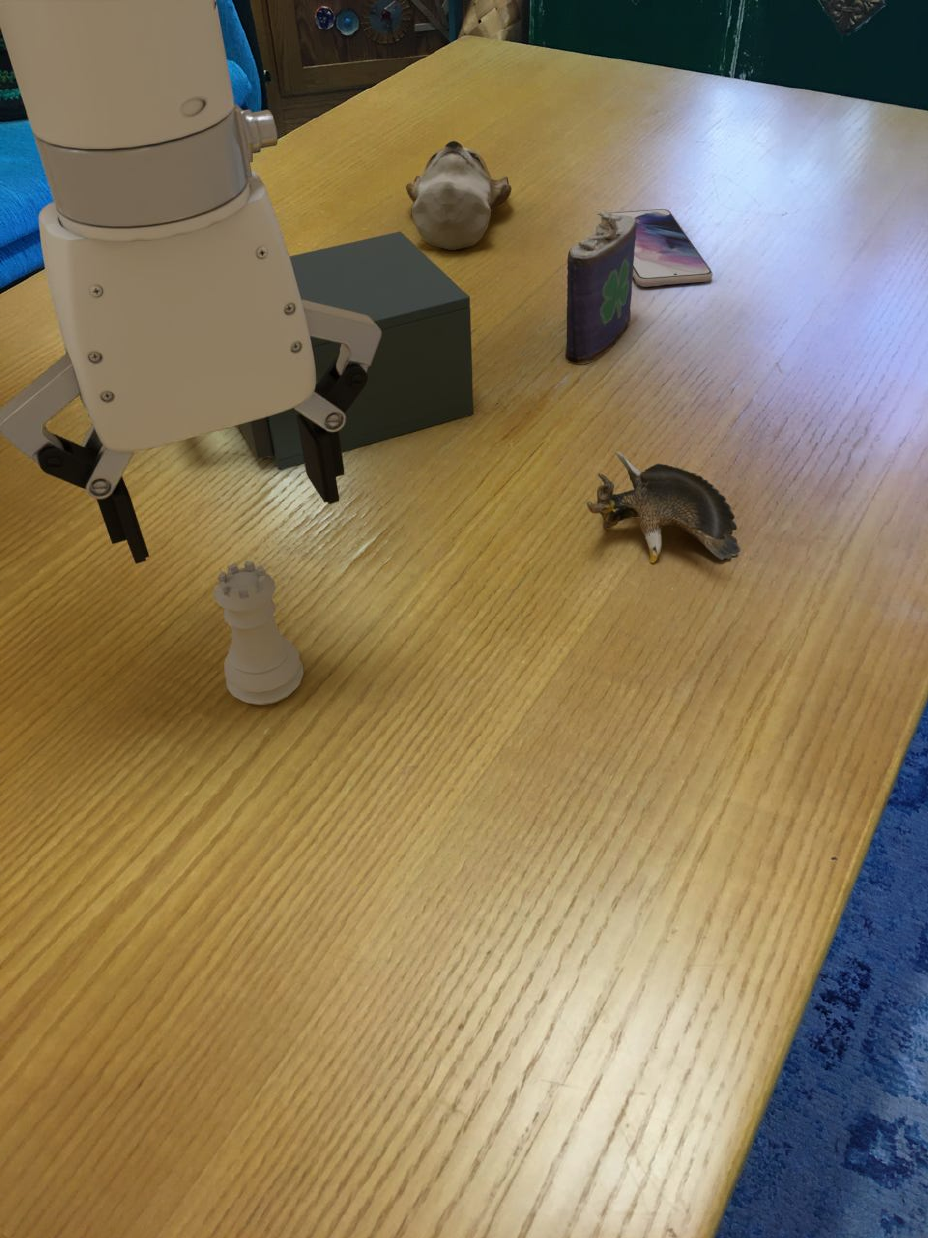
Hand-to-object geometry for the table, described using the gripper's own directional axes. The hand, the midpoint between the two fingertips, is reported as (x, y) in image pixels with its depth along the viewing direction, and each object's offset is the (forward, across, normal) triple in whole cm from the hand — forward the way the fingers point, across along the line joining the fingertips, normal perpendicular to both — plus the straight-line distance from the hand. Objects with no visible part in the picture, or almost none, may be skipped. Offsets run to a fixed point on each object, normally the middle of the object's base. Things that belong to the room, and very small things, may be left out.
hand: (232, 516), depth 53 cm
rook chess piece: (+12, 0, 0) cm, 12 cm away
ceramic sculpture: (+12, -36, -51) cm, 64 cm away
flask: (+12, -37, -25) cm, 46 cm away
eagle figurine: (+12, -27, 0) cm, 29 cm away
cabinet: (+12, -15, -26) cm, 32 cm away
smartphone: (+12, -50, -37) cm, 63 cm away
